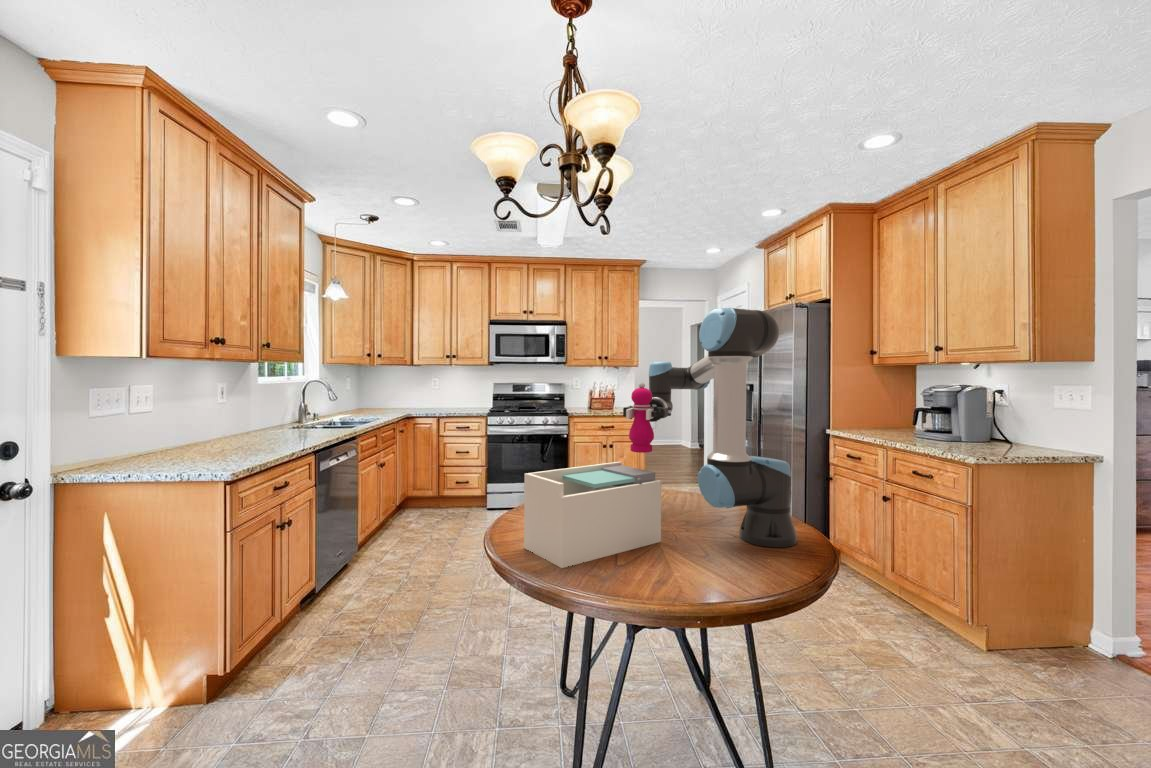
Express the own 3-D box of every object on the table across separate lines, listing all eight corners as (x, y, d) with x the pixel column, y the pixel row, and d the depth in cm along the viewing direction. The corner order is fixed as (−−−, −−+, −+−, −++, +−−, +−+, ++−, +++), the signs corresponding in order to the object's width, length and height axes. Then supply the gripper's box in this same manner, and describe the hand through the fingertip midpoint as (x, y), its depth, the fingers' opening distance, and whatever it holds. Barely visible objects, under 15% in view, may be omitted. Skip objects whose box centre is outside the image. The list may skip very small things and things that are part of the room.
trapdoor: (655, 487, 143) (655, 472, 143) (594, 498, 130) (594, 481, 129) (621, 479, 154) (621, 465, 154) (562, 488, 141) (562, 472, 141)
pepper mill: (637, 453, 143) (637, 382, 142) (624, 449, 150) (624, 382, 149) (658, 452, 146) (659, 382, 145) (645, 448, 153) (645, 381, 152)
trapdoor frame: (662, 542, 141) (662, 470, 141) (563, 569, 121) (564, 485, 121) (617, 526, 156) (617, 461, 156) (522, 547, 136) (523, 473, 136)
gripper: (682, 422, 161) (669, 429, 139) (626, 419, 168) (606, 426, 146) (682, 398, 161) (669, 402, 139) (626, 397, 167) (606, 400, 146)
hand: (637, 414), depth 143 cm, fingers closed on pepper mill, 5 cm apart
